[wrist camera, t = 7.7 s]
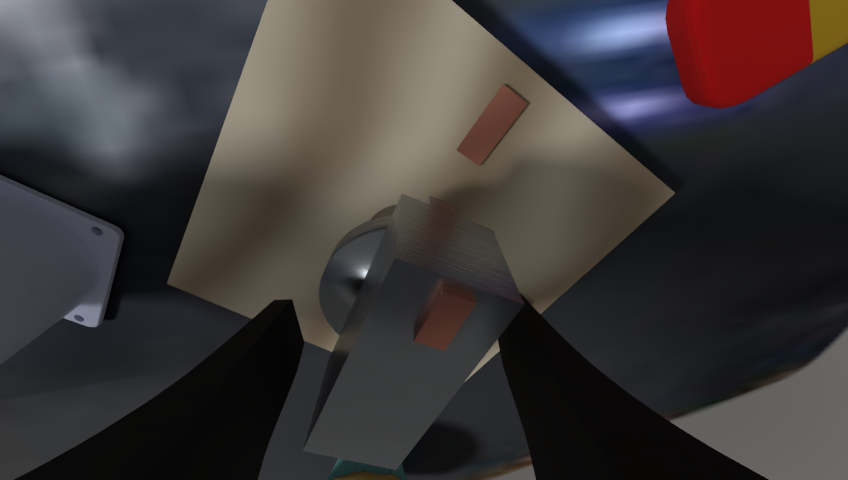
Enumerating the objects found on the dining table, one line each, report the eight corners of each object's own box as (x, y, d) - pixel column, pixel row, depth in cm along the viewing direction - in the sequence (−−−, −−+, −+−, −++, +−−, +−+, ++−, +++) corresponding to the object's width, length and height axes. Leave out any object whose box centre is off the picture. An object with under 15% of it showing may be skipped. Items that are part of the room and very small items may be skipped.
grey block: (429, 363, 16) (433, 487, 11) (304, 327, 14) (253, 452, 10) (519, 228, 12) (579, 331, 8) (363, 163, 11) (325, 242, 6)
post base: (184, 267, 18) (121, 325, 14) (323, -101, 11) (272, -186, 7) (444, 379, 24) (449, 444, 20) (654, 181, 16) (730, 222, 12)
